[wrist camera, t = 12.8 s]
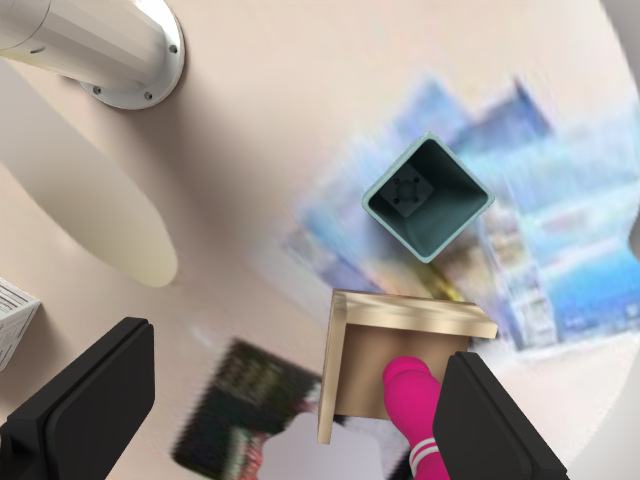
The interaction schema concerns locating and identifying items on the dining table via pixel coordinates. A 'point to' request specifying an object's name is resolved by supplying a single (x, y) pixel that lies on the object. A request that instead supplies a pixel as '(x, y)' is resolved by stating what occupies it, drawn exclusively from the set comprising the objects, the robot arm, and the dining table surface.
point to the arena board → (386, 360)
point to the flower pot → (427, 197)
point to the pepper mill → (415, 413)
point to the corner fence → (392, 316)
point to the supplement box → (13, 318)
